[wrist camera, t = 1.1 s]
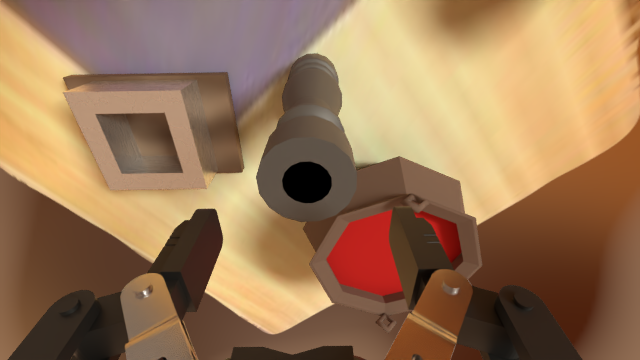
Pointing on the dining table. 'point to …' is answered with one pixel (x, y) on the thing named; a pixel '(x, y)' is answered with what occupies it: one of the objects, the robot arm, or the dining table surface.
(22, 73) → the dining table surface
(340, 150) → the candle holder
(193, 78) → the socket board
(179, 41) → the dining table surface
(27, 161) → the dining table surface
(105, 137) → the square collar
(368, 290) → the brown cauldron
